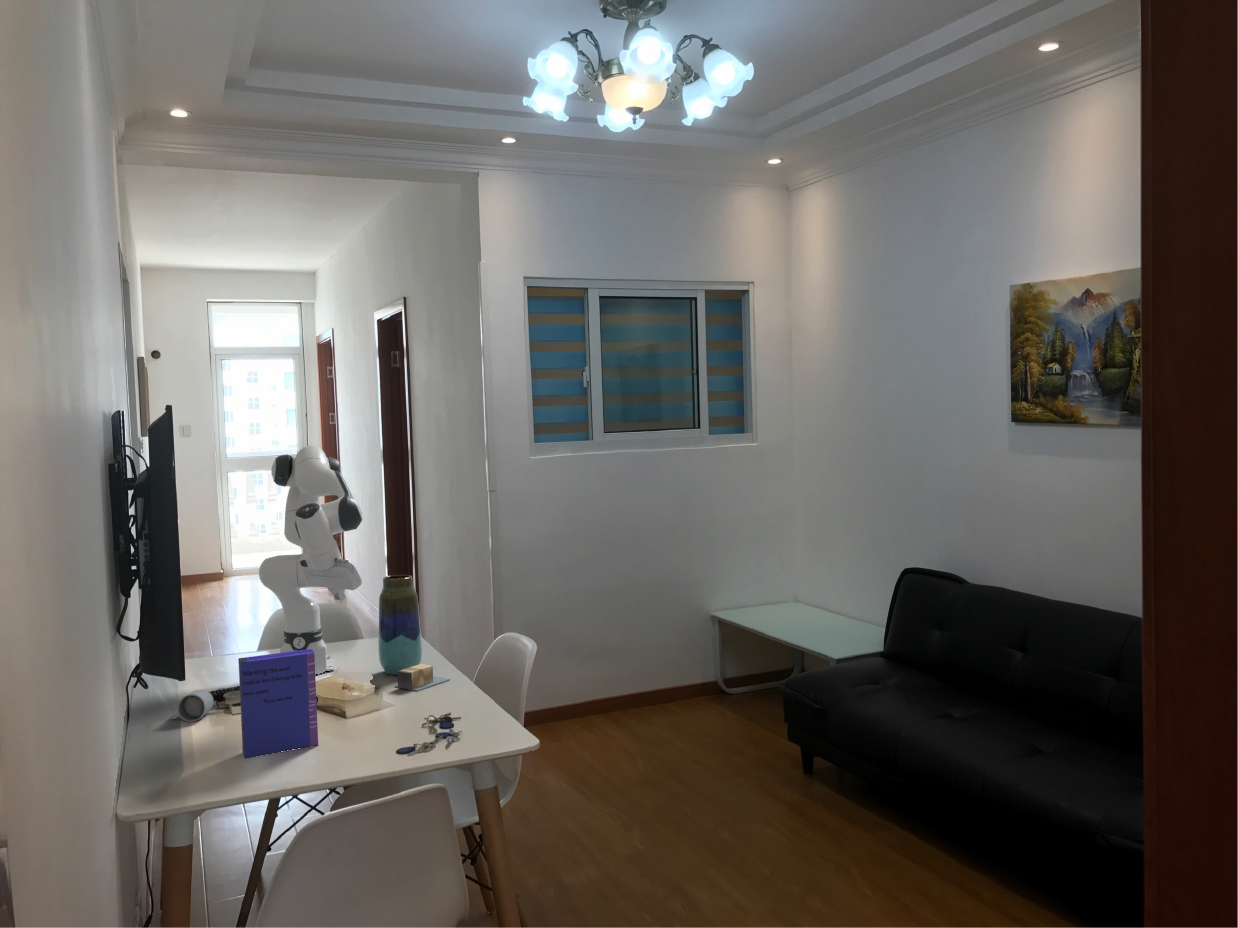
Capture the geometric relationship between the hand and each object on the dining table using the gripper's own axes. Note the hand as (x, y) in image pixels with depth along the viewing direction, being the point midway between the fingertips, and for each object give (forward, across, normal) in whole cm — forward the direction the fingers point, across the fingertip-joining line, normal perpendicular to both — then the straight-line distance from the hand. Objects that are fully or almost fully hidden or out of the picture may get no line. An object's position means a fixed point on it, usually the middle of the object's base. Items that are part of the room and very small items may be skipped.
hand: (340, 599), depth 281 cm
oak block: (+30, -9, -4) cm, 32 cm away
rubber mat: (+36, -10, -10) cm, 39 cm away
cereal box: (+14, -20, +47) cm, 53 cm away
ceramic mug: (+16, +25, +42) cm, 51 cm away
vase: (+39, +6, -17) cm, 43 cm away
